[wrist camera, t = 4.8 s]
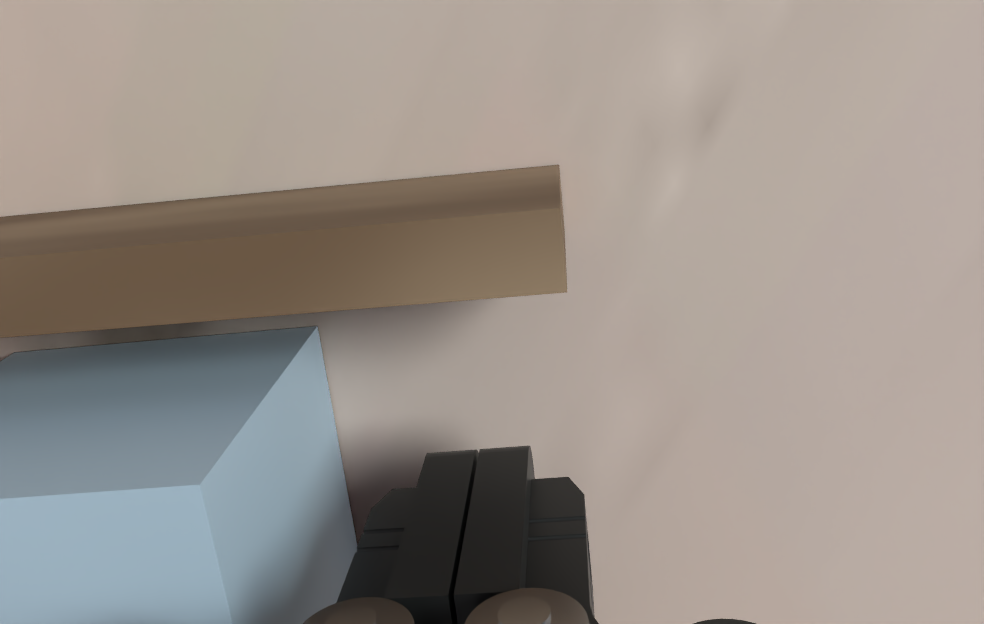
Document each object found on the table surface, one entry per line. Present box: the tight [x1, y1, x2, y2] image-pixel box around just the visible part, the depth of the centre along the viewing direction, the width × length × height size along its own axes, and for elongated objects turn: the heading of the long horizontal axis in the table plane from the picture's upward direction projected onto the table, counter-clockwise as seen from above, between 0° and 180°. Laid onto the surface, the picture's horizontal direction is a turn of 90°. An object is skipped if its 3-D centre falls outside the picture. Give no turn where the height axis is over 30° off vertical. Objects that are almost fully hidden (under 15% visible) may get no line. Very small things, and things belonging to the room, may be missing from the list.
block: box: [0, 326, 357, 624], centre depth 13 cm, size 5×5×5 cm
